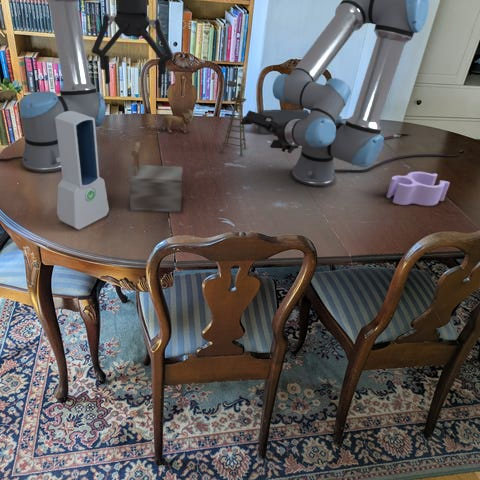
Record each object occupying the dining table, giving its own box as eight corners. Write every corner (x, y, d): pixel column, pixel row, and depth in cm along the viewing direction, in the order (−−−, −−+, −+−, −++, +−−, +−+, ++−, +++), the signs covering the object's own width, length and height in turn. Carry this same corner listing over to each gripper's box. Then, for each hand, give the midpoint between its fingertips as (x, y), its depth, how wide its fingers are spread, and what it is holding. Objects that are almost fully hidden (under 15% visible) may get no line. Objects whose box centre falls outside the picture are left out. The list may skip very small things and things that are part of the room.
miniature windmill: (241, 156, 181) (249, 76, 164) (220, 152, 182) (226, 73, 165) (246, 147, 188) (254, 71, 172) (225, 144, 189) (231, 68, 173)
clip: (400, 208, 156) (406, 189, 152) (379, 191, 165) (384, 173, 162) (448, 203, 162) (455, 186, 158) (425, 187, 172) (431, 170, 168)
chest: (130, 210, 139) (129, 181, 134) (134, 195, 146) (133, 167, 141) (180, 212, 140) (181, 183, 135) (181, 198, 148) (182, 170, 143)
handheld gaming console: (303, 130, 212) (307, 109, 207) (306, 132, 210) (310, 111, 205) (256, 132, 205) (259, 109, 200) (259, 134, 203) (261, 111, 197)
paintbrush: (406, 132, 223) (406, 130, 222) (411, 134, 221) (412, 132, 220) (362, 144, 207) (363, 141, 206) (368, 146, 205) (368, 143, 204)
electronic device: (76, 231, 126) (63, 124, 110) (57, 222, 129) (42, 116, 113) (110, 214, 135) (103, 112, 119) (91, 206, 138) (82, 105, 122)
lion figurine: (191, 128, 201) (192, 107, 196) (194, 132, 197) (195, 111, 192) (157, 129, 196) (157, 108, 192) (160, 134, 192) (160, 112, 187)
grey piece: (126, 180, 134) (125, 151, 129) (130, 167, 141) (129, 139, 136) (181, 183, 135) (182, 154, 130) (182, 170, 143) (183, 142, 138)
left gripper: (74, -9, 108) (82, 84, 119) (183, 1, 110) (181, 91, 122) (81, -12, 114) (88, 77, 125) (184, -3, 117) (182, 84, 128)
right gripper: (257, 118, 130) (224, 120, 149) (315, 166, 143) (278, 162, 161) (270, 95, 131) (235, 100, 149) (327, 145, 143) (289, 143, 162)
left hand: (134, 84), depth 124 cm, fingers open, 13 cm apart
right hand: (258, 132), depth 155 cm, fingers open, 13 cm apart
